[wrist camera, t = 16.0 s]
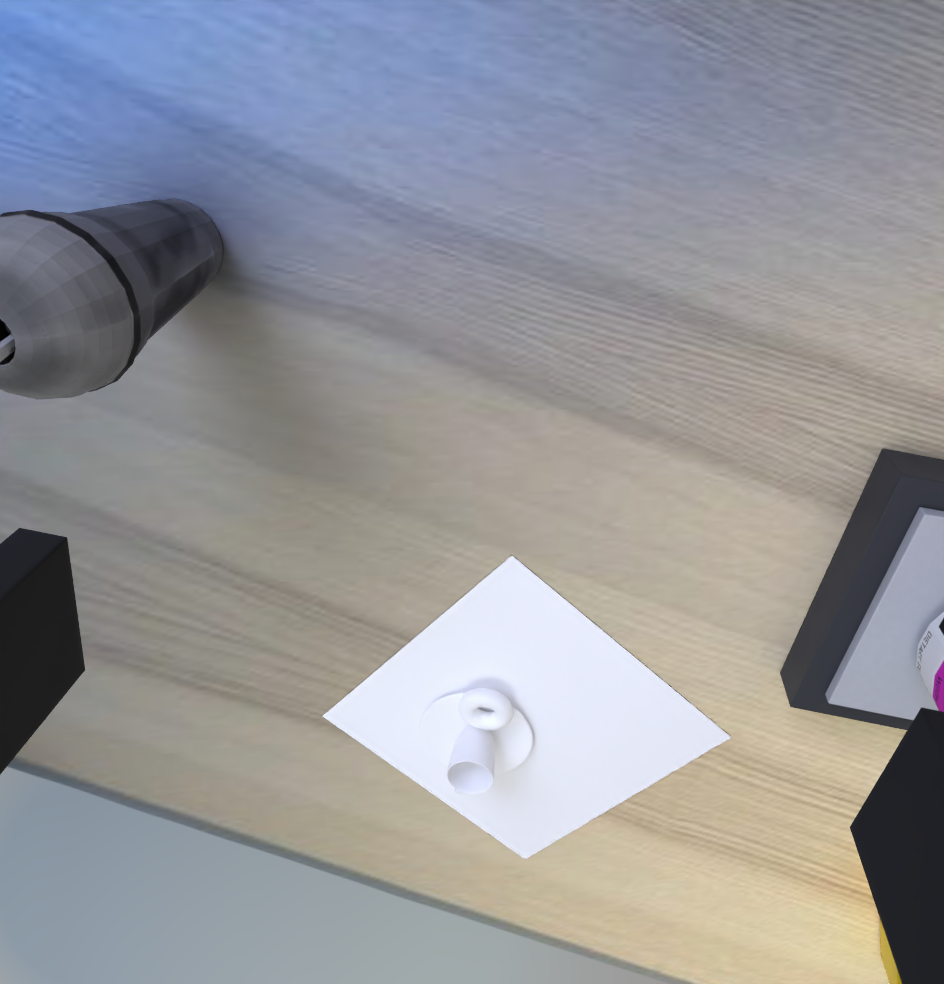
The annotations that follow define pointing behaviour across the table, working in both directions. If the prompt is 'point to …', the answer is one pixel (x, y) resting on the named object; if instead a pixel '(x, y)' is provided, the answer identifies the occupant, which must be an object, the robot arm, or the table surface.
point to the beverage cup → (95, 289)
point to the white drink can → (933, 660)
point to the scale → (876, 601)
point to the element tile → (888, 959)
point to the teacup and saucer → (523, 713)
